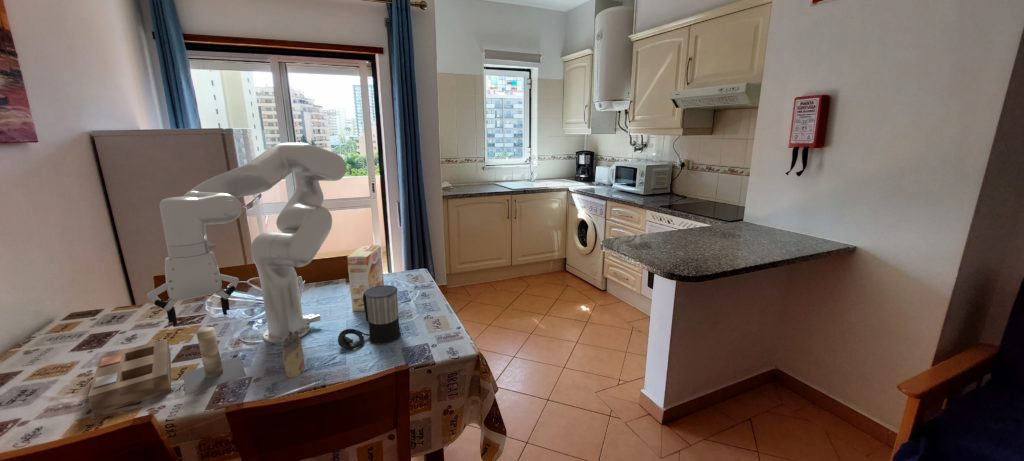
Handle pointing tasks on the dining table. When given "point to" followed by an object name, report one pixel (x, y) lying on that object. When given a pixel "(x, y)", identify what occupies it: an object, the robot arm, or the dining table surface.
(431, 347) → the dining table surface
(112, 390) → the socket block
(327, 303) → the dining table surface
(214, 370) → the peg
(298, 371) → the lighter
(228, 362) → the mat
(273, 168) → the robot arm
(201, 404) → the dining table surface
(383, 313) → the milk frother
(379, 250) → the coffeecake box
